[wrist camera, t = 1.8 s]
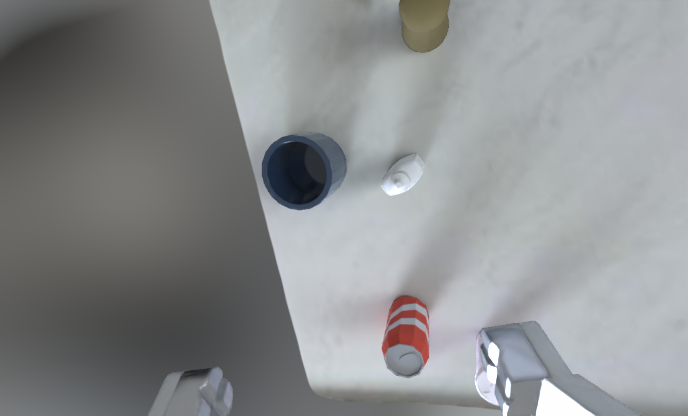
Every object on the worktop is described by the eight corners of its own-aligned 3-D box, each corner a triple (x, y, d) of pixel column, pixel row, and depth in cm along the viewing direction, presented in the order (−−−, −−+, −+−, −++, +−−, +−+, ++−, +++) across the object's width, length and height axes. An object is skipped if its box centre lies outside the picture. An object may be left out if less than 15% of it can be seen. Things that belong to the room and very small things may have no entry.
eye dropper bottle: (384, 157, 48) (371, 169, 37) (422, 152, 47) (421, 162, 36) (388, 186, 49) (377, 206, 38) (426, 181, 48) (425, 200, 37)
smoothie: (466, 354, 53) (479, 431, 40) (467, 320, 52) (481, 389, 39) (509, 359, 52) (536, 440, 39) (511, 324, 50) (541, 396, 37)
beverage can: (435, 318, 53) (437, 371, 42) (402, 332, 55) (395, 386, 44) (416, 288, 53) (412, 334, 41) (383, 303, 55) (371, 351, 44)
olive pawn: (403, 2, 43) (395, -35, 32) (451, 0, 41) (459, -40, 31) (400, 52, 44) (391, 32, 34) (446, 52, 43) (451, 31, 33)
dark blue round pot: (297, 122, 50) (275, 122, 43) (356, 149, 49) (343, 155, 42) (277, 180, 54) (252, 190, 46) (331, 207, 53) (315, 222, 45)
